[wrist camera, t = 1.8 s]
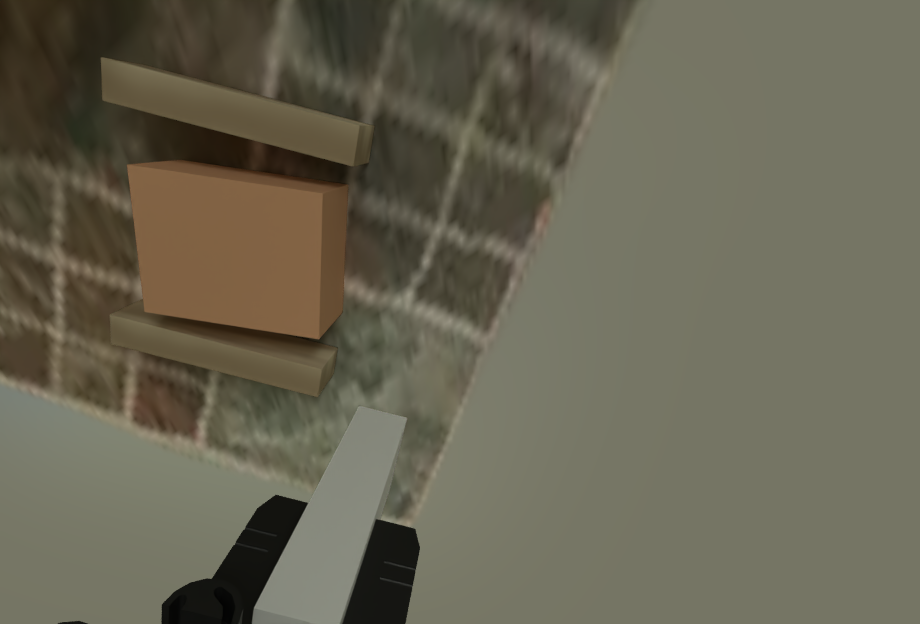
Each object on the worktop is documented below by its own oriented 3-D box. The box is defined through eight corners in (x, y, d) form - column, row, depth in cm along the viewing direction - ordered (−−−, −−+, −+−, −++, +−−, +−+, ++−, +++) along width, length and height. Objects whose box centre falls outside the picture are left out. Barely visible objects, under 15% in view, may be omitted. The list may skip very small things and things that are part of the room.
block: (183, 159, 28) (126, 164, 24) (349, 183, 28) (322, 193, 24) (193, 287, 31) (144, 311, 27) (343, 310, 31) (318, 339, 26)
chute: (143, 64, 26) (101, 57, 23) (374, 125, 26) (359, 125, 23) (144, 325, 32) (110, 344, 29) (333, 373, 32) (317, 397, 29)
